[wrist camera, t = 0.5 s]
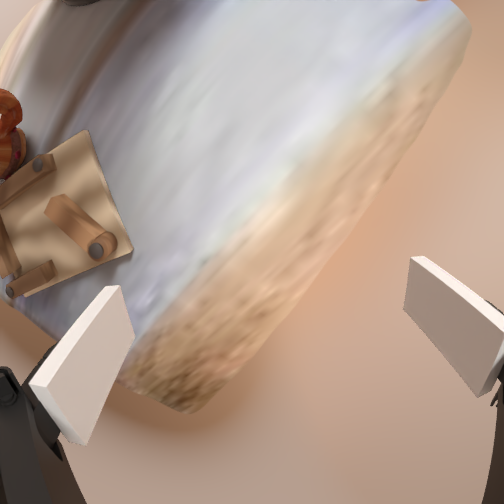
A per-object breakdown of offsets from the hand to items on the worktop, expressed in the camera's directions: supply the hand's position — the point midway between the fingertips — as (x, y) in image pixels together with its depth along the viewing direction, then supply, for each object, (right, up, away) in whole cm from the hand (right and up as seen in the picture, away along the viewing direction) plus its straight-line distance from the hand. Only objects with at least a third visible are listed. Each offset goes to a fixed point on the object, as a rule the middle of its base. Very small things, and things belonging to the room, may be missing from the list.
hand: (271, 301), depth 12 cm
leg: (-23, +6, +23) cm, 33 cm away
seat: (-31, +7, +24) cm, 40 cm away
